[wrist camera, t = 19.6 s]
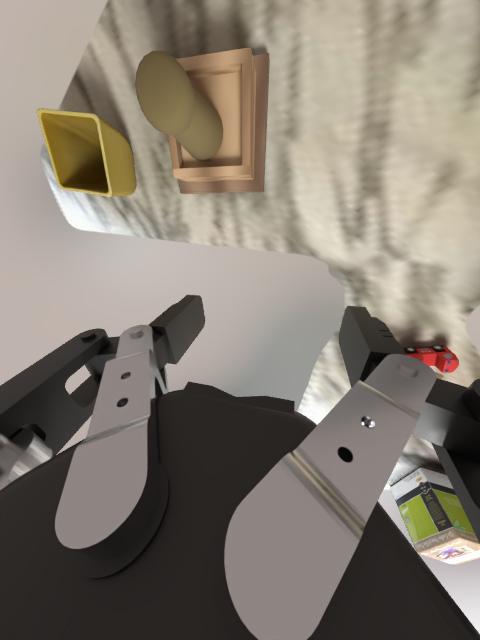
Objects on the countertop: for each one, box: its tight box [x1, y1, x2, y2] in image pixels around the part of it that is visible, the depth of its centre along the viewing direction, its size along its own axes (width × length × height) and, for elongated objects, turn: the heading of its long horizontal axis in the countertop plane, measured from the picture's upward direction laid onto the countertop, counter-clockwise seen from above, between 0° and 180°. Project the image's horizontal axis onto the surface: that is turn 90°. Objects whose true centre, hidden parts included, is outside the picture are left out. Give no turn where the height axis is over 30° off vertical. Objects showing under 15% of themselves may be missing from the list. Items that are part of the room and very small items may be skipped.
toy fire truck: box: [403, 346, 459, 380], centre depth 36 cm, size 3×14×10 cm, turn 103°
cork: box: [136, 51, 223, 161], centre depth 21 cm, size 6×6×11 cm
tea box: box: [390, 467, 480, 565], centre depth 53 cm, size 15×10×15 cm
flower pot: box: [37, 108, 136, 197], centre depth 30 cm, size 9×9×9 cm
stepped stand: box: [168, 47, 270, 194], centre depth 27 cm, size 14×14×6 cm
